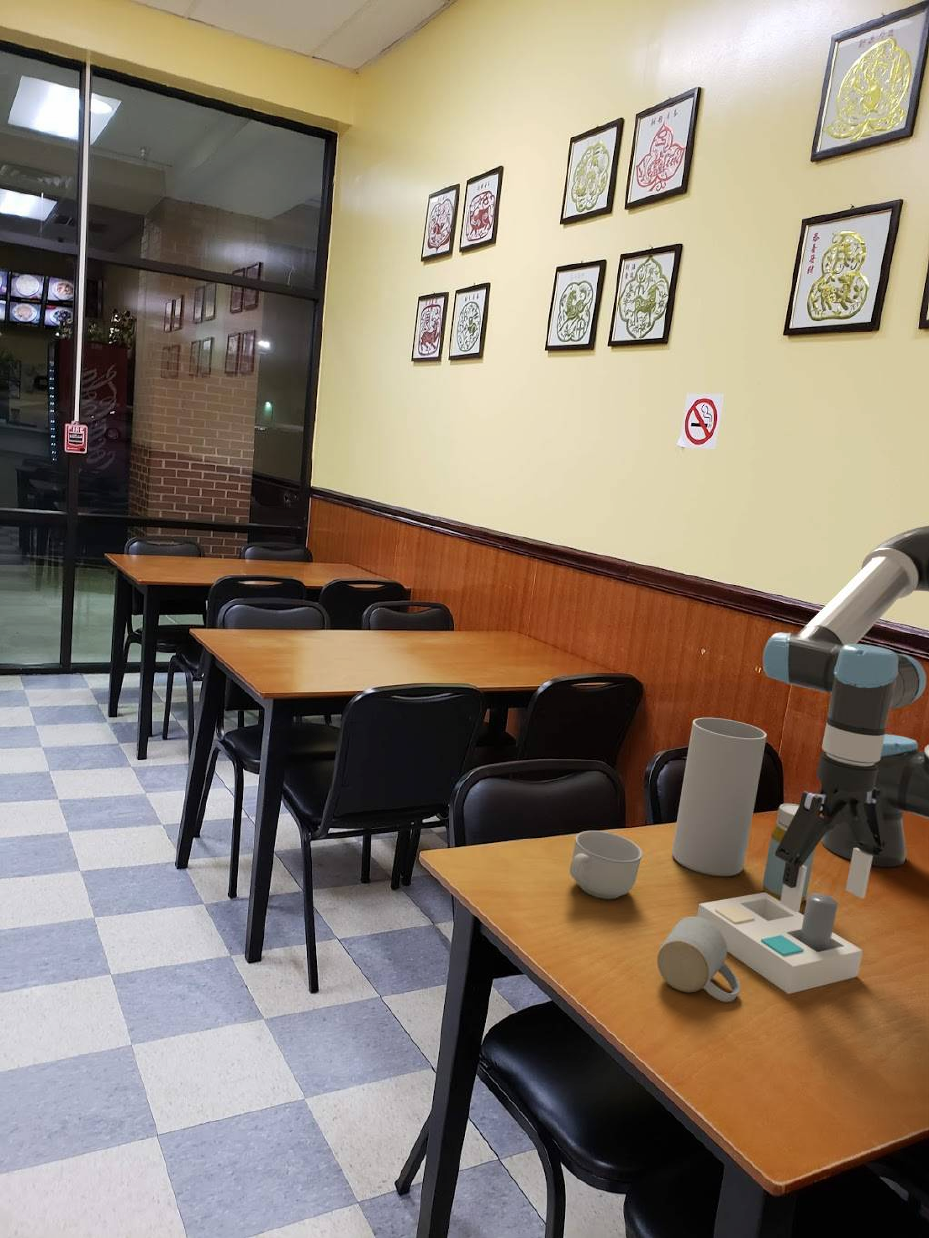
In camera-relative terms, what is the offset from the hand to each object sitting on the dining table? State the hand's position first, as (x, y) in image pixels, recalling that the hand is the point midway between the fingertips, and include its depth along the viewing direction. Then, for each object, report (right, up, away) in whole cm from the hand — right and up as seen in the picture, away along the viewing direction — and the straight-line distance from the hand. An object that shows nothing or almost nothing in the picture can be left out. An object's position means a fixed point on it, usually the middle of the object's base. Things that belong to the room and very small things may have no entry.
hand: (823, 900), depth 128 cm
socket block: (-6, -9, +4) cm, 11 cm away
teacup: (-30, -4, +17) cm, 35 cm away
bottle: (+3, -7, +24) cm, 25 cm away
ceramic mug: (-20, -9, -7) cm, 23 cm away
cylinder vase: (-7, -4, +34) cm, 35 cm away
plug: (-1, -10, +1) cm, 10 cm away
